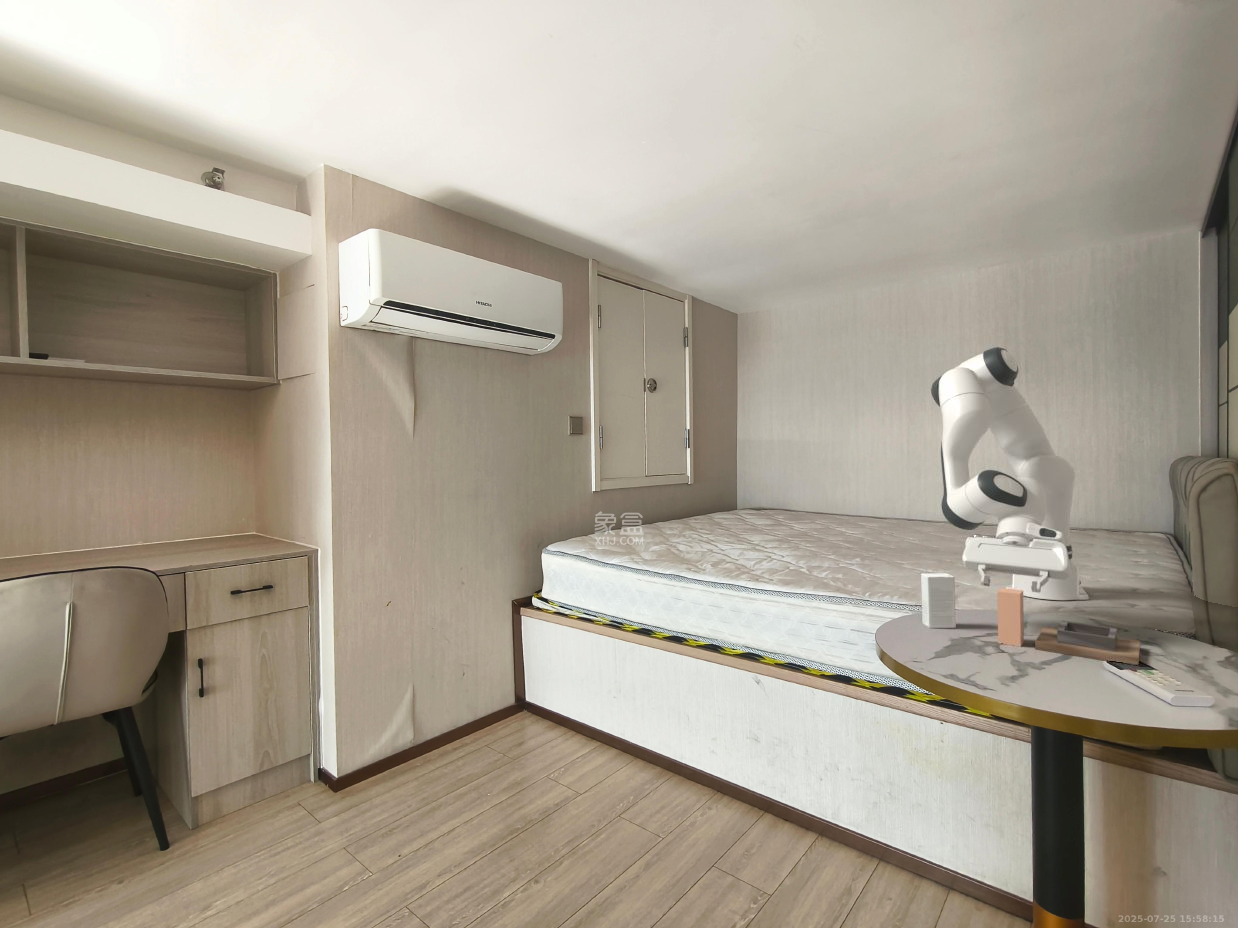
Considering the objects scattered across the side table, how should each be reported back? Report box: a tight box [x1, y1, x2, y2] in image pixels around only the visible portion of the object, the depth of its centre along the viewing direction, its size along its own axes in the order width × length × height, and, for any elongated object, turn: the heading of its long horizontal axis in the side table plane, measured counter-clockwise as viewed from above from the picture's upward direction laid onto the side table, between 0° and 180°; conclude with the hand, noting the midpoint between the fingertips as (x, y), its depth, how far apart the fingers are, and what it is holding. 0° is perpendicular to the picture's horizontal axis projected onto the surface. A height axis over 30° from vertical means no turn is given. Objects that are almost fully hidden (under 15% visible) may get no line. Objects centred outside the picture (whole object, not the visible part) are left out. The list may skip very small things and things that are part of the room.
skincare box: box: [920, 572, 957, 629], centre depth 140 cm, size 6×4×12 cm
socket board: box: [1034, 620, 1141, 666], centre depth 122 cm, size 13×16×4 cm
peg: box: [997, 587, 1025, 648], centre depth 127 cm, size 4×4×11 cm
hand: (1009, 587), depth 132 cm, fingers open, 8 cm apart
